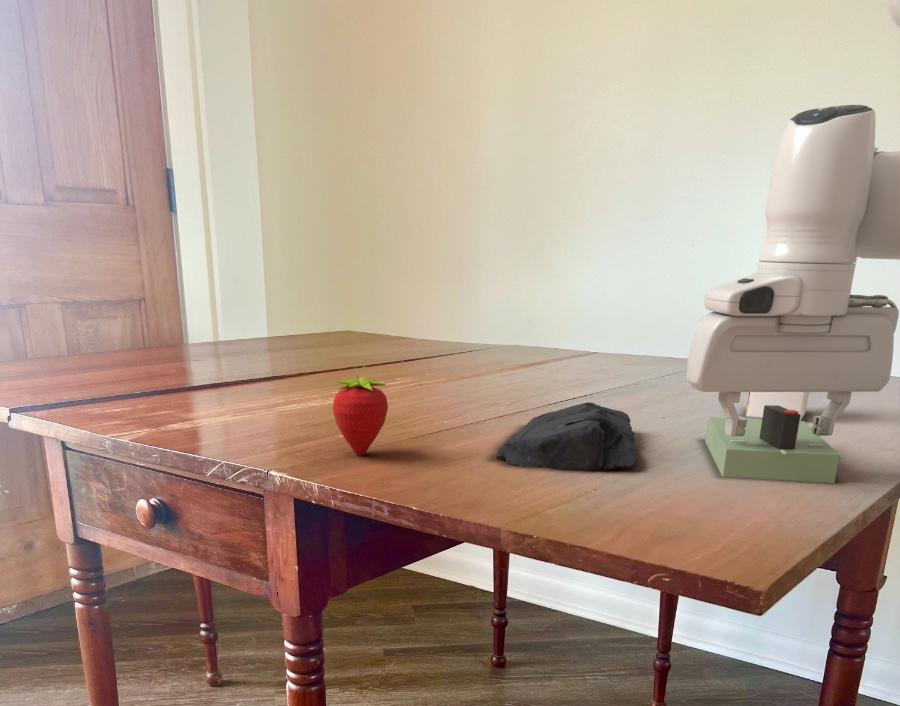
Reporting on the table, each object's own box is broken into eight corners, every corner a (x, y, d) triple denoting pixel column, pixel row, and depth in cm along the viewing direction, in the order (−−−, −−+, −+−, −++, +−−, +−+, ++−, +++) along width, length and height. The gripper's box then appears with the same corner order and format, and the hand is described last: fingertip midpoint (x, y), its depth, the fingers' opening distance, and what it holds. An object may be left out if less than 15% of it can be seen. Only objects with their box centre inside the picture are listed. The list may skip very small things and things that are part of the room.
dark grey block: (759, 438, 92) (764, 403, 91) (773, 438, 93) (779, 403, 91) (779, 449, 88) (785, 412, 86) (794, 449, 88) (801, 412, 87)
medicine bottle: (752, 409, 125) (766, 321, 120) (805, 414, 122) (821, 324, 117) (745, 417, 119) (758, 326, 114) (800, 422, 116) (816, 329, 111)
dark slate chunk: (645, 432, 108) (649, 394, 107) (635, 476, 89) (639, 430, 87) (525, 425, 112) (526, 387, 110) (489, 465, 92) (491, 421, 90)
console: (800, 446, 103) (804, 419, 102) (837, 486, 86) (843, 455, 85) (704, 441, 105) (708, 415, 103) (723, 480, 88) (728, 449, 87)
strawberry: (393, 449, 99) (392, 358, 95) (382, 465, 92) (380, 368, 88) (342, 447, 99) (339, 357, 95) (327, 463, 92) (323, 367, 88)
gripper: (884, 292, 88) (857, 428, 94) (690, 291, 86) (674, 429, 92) (920, 297, 83) (889, 441, 88) (713, 295, 81) (695, 442, 86)
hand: (778, 435), depth 90 cm, fingers open, 8 cm apart
